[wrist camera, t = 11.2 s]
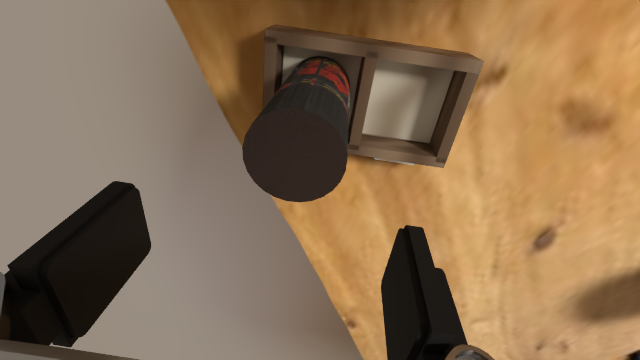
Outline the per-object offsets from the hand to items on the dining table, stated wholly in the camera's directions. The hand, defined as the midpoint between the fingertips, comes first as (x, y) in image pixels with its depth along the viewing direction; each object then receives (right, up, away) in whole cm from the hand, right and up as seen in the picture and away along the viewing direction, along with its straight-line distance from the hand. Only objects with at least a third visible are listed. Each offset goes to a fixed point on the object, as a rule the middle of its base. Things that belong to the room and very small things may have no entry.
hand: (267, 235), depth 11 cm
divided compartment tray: (+6, +11, +20) cm, 24 cm away
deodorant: (+2, +11, +19) cm, 22 cm away
